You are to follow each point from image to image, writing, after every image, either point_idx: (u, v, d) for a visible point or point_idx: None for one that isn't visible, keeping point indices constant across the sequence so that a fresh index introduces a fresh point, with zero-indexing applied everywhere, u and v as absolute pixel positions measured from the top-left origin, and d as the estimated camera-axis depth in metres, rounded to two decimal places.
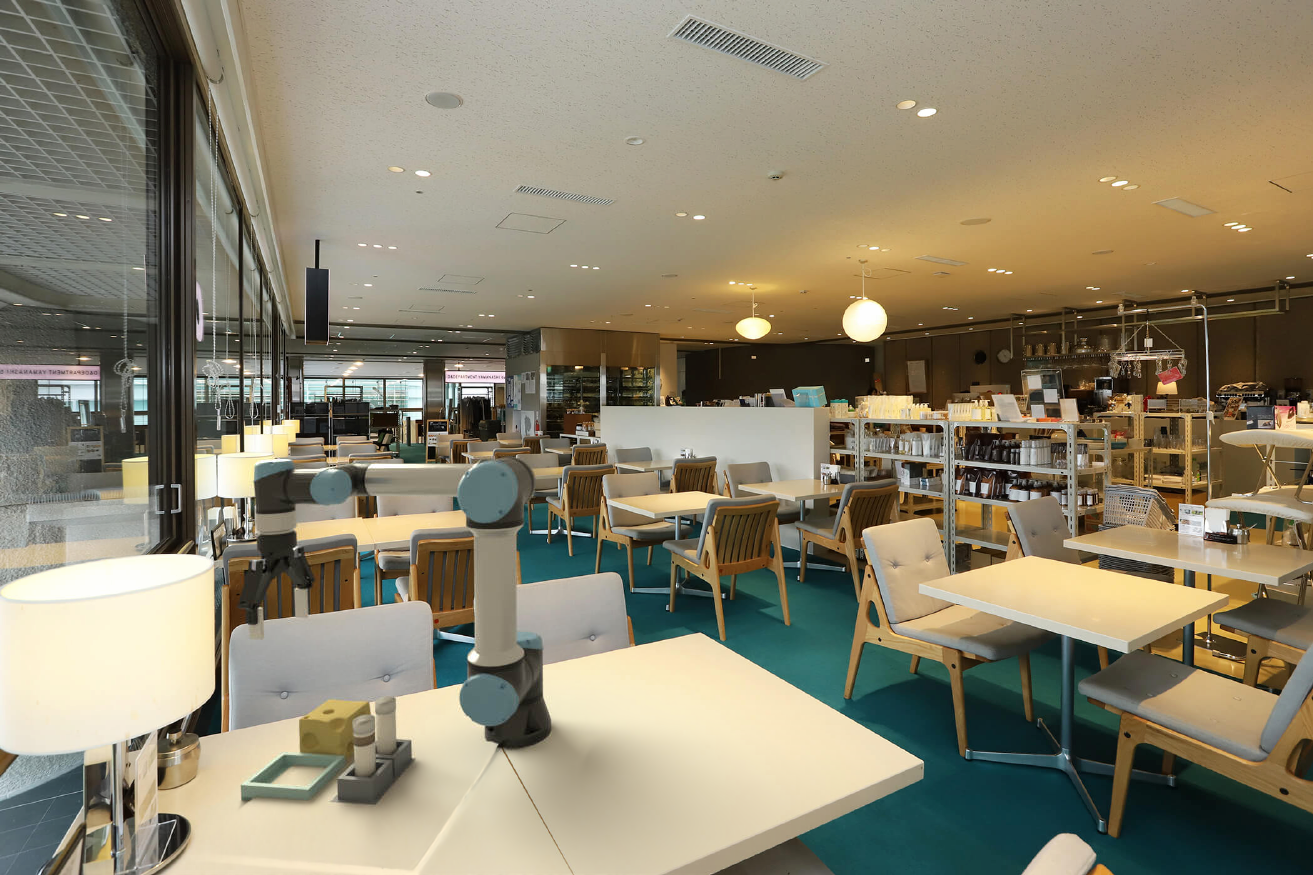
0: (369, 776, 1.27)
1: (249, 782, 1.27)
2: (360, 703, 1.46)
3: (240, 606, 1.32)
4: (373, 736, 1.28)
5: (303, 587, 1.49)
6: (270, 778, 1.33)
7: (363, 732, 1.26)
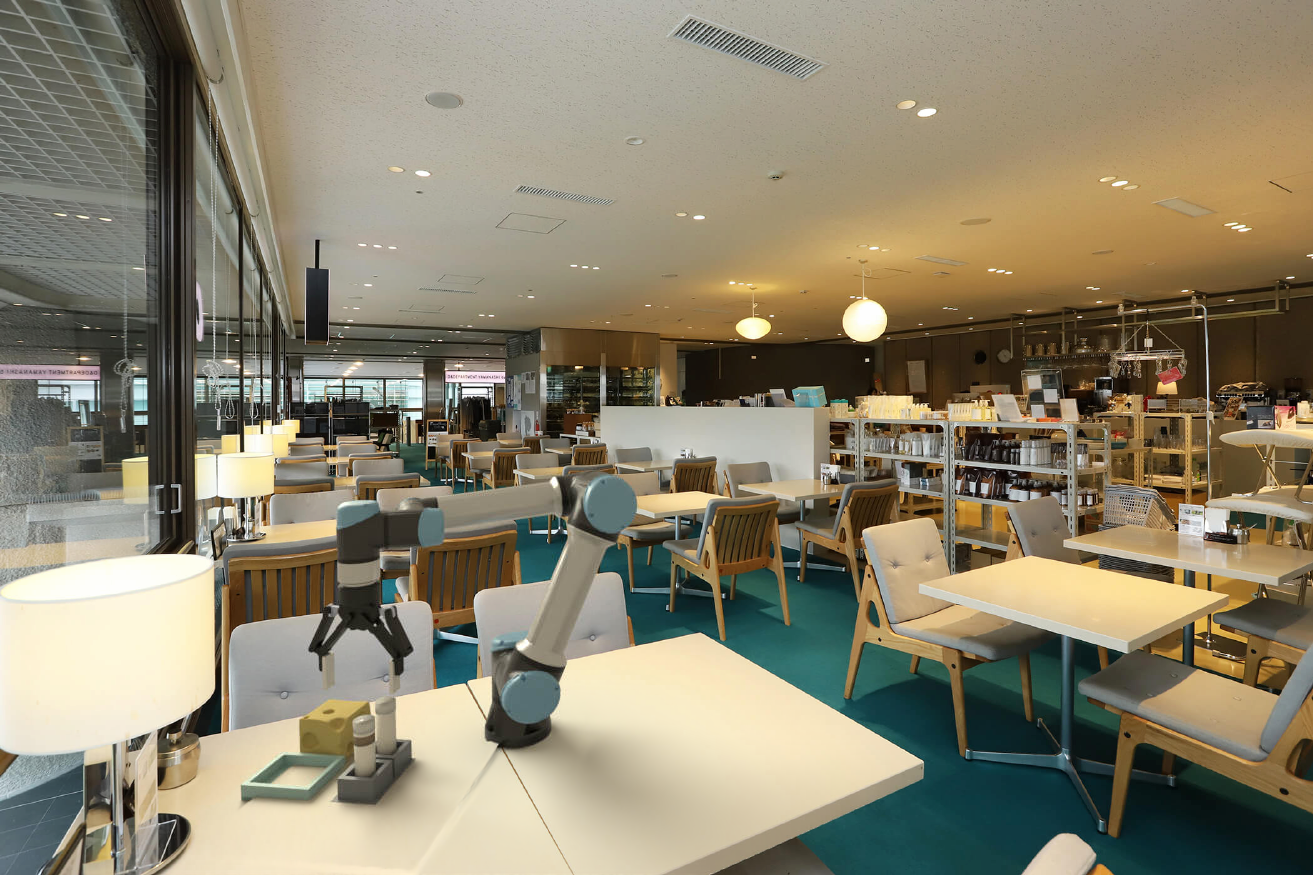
0: (369, 776, 1.27)
1: (249, 782, 1.27)
2: (360, 703, 1.46)
3: None
4: (373, 736, 1.28)
5: None
6: (270, 778, 1.33)
7: (363, 732, 1.26)
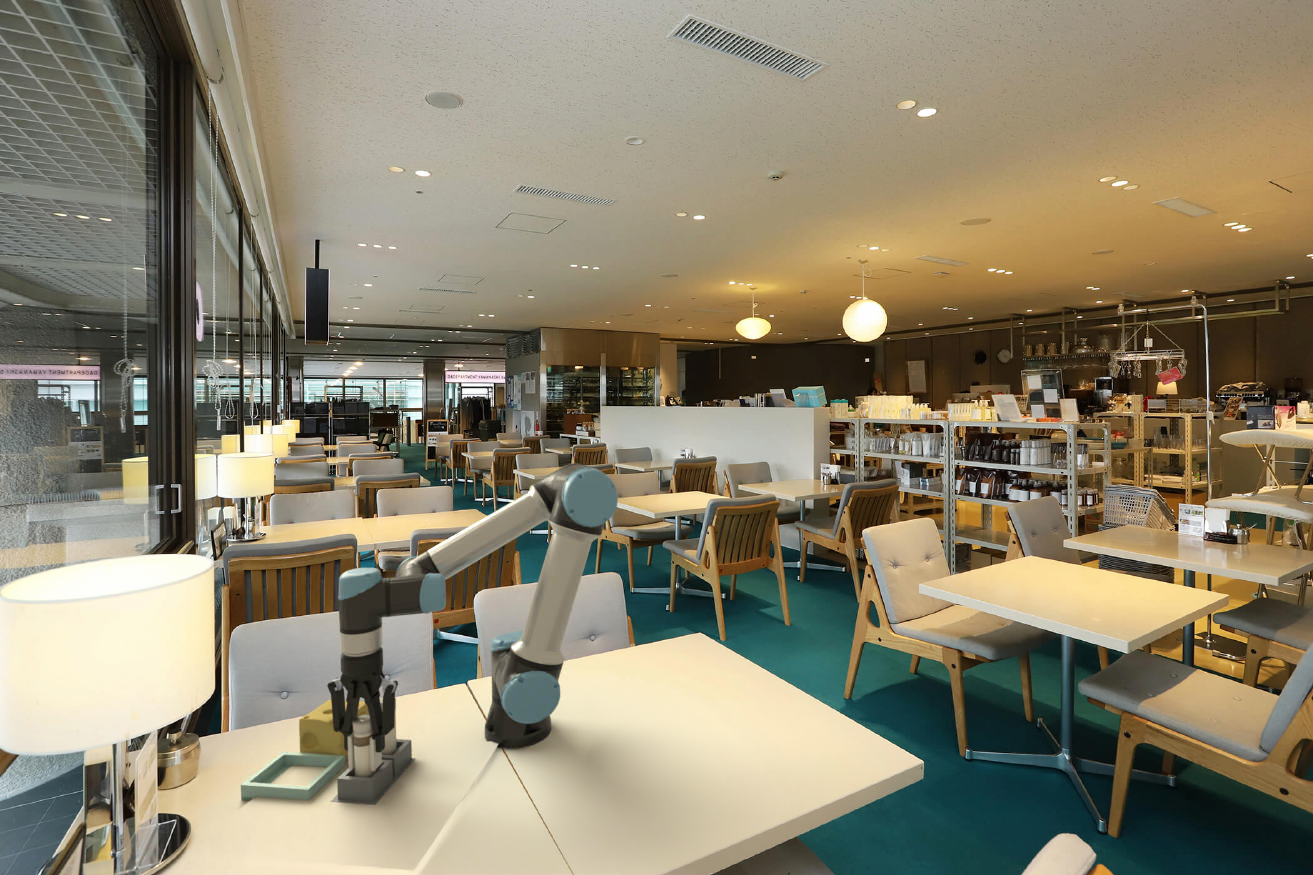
0: (369, 776, 1.27)
1: (249, 782, 1.27)
2: (360, 703, 1.46)
3: None
4: None
5: None
6: (270, 778, 1.33)
7: (363, 732, 1.26)
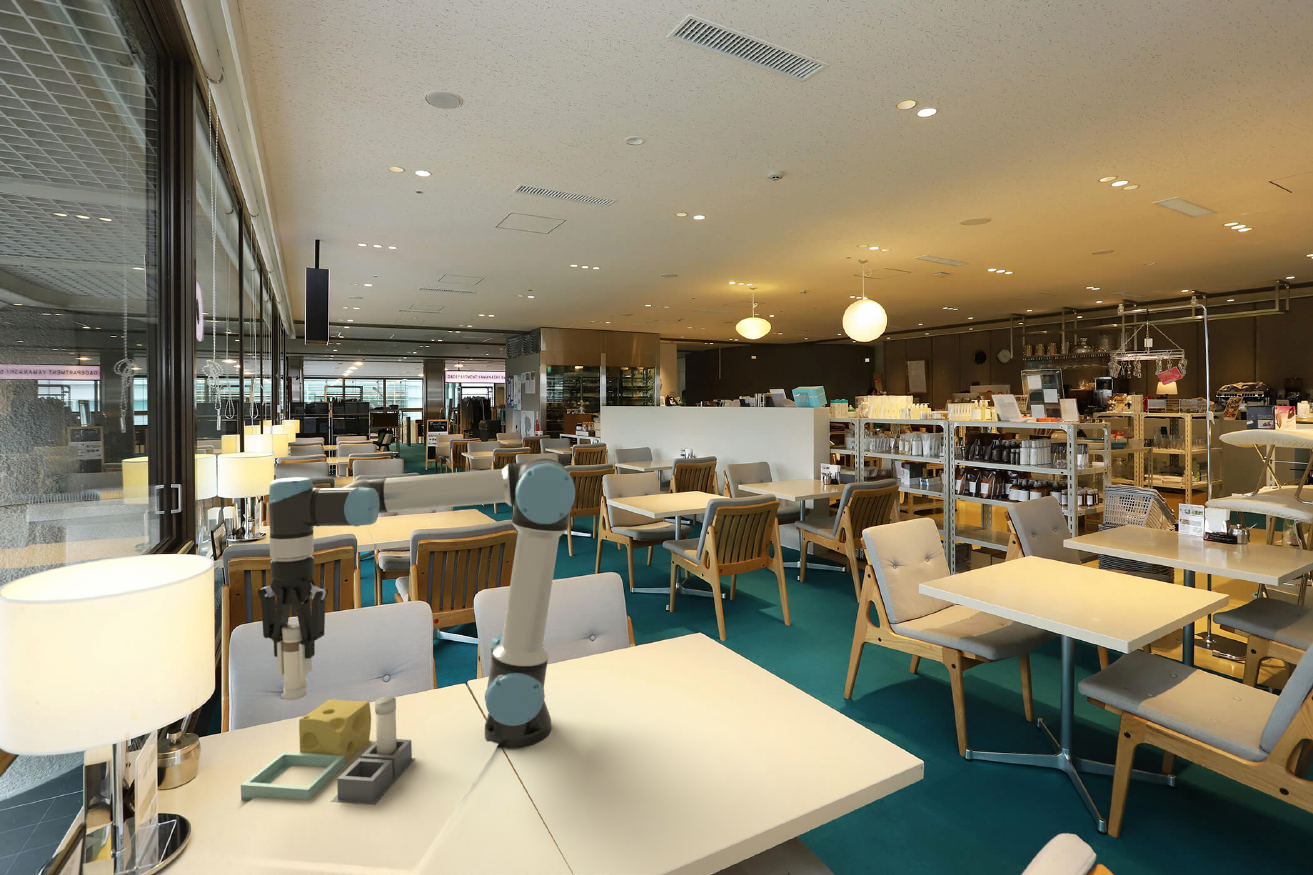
0: (298, 682, 1.29)
1: (249, 782, 1.27)
2: (360, 703, 1.46)
3: None
4: None
5: None
6: (270, 778, 1.33)
7: (292, 638, 1.28)
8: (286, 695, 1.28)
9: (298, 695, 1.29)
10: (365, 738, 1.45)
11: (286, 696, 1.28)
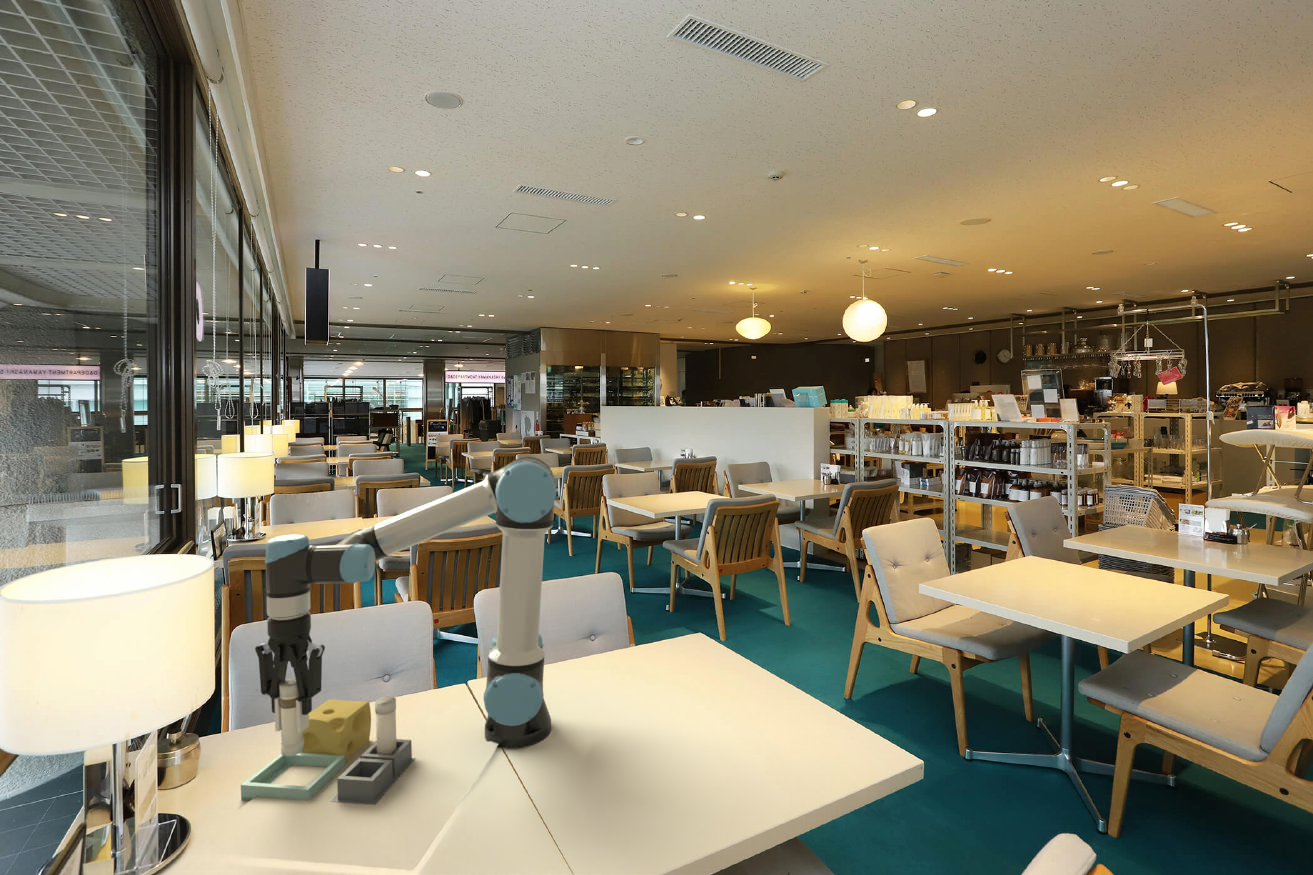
0: (295, 738, 1.30)
1: (249, 782, 1.27)
2: (360, 703, 1.46)
3: None
4: None
5: None
6: (270, 778, 1.33)
7: (289, 695, 1.29)
8: (283, 751, 1.30)
9: (295, 751, 1.30)
10: (365, 738, 1.45)
11: (283, 752, 1.29)
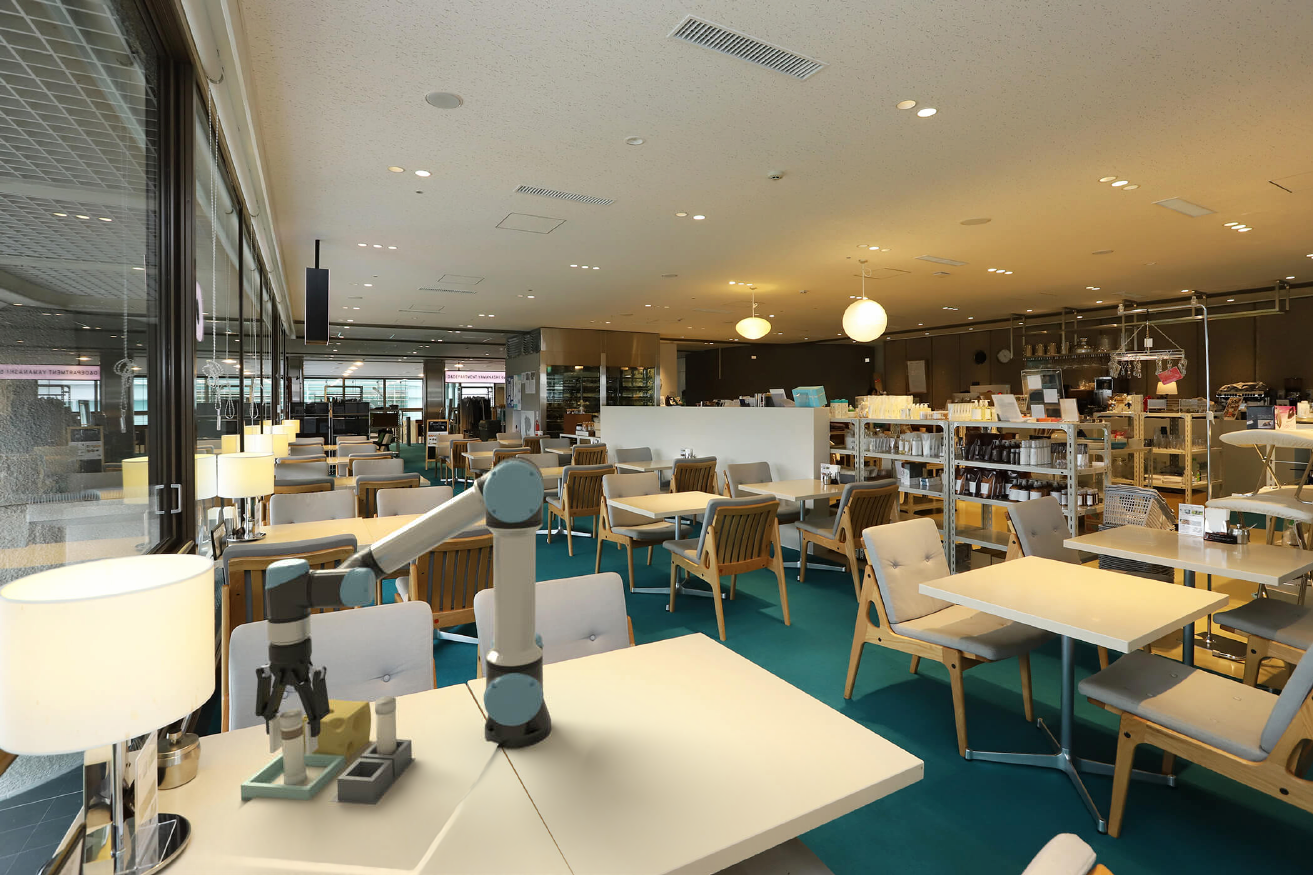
0: (297, 768, 1.30)
1: (249, 782, 1.27)
2: (360, 703, 1.46)
3: None
4: (300, 729, 1.31)
5: None
6: (270, 778, 1.33)
7: (289, 726, 1.29)
8: (286, 782, 1.30)
9: (298, 781, 1.30)
10: (365, 738, 1.45)
11: (286, 783, 1.30)
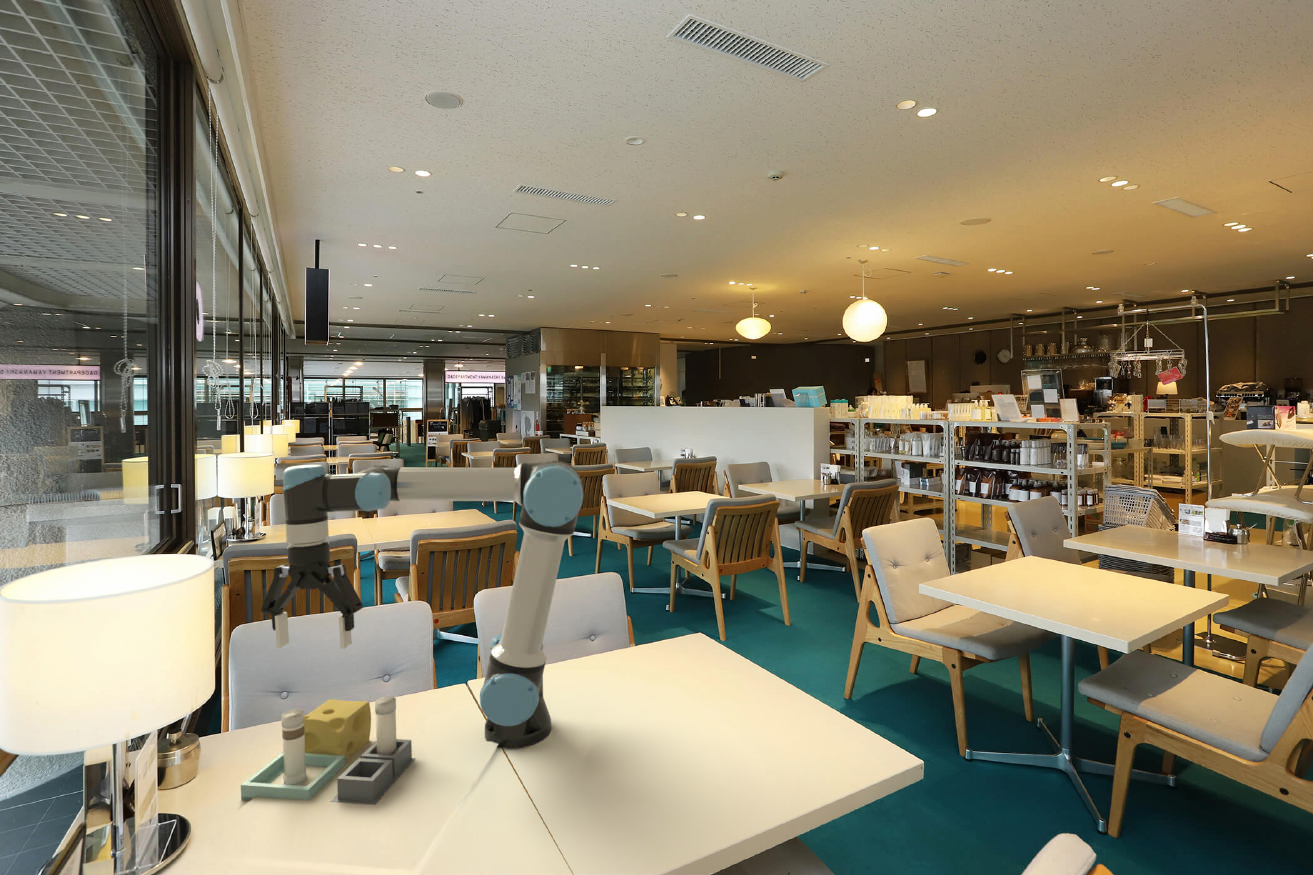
0: (298, 769, 1.30)
1: (249, 782, 1.27)
2: (360, 703, 1.46)
3: None
4: (302, 730, 1.31)
5: None
6: (270, 778, 1.33)
7: (291, 726, 1.29)
8: (286, 782, 1.30)
9: (298, 782, 1.30)
10: (365, 738, 1.45)
11: (286, 783, 1.30)
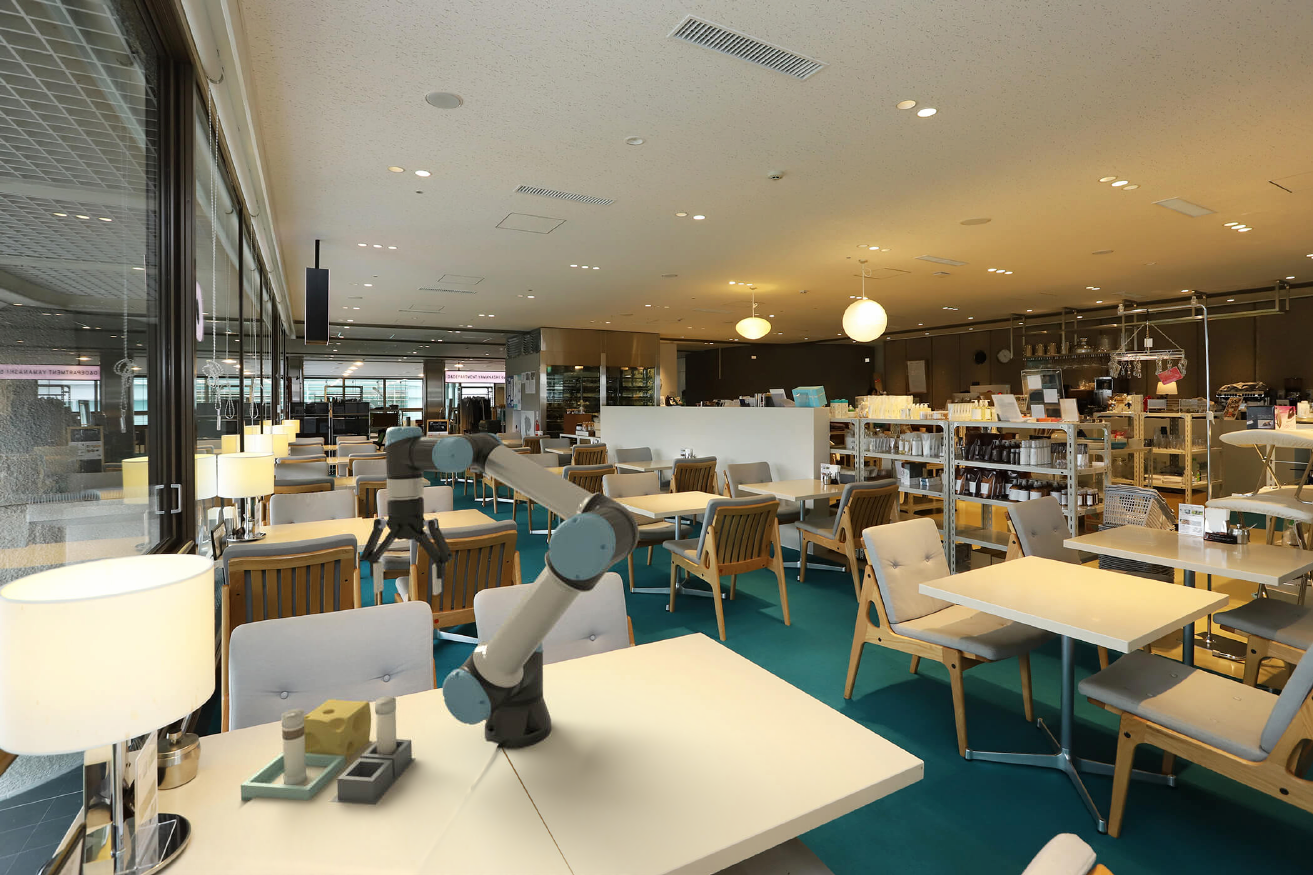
0: (298, 769, 1.30)
1: (249, 782, 1.27)
2: (360, 703, 1.46)
3: None
4: (302, 730, 1.31)
5: None
6: (270, 778, 1.33)
7: (291, 726, 1.29)
8: (286, 782, 1.30)
9: (298, 782, 1.30)
10: (365, 738, 1.45)
11: (286, 783, 1.30)
